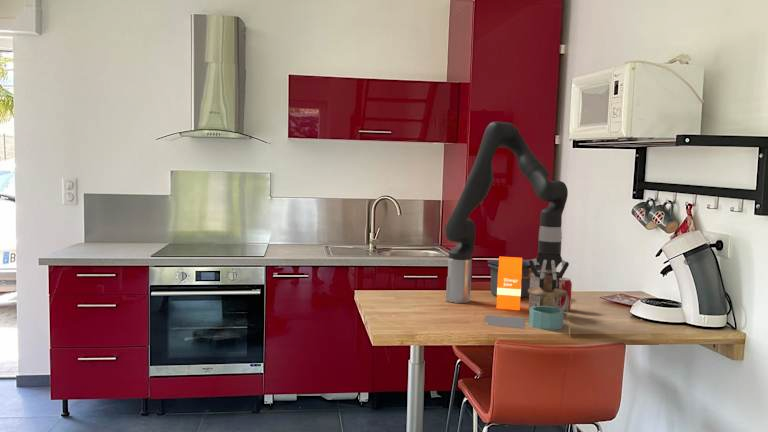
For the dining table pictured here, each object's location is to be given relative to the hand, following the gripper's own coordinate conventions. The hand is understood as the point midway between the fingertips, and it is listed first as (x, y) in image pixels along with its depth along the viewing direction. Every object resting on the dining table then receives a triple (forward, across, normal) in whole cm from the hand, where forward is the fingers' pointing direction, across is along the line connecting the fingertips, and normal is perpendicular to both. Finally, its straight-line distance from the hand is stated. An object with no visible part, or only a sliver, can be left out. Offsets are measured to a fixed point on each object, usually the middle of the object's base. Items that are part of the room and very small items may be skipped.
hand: (547, 289), depth 218 cm
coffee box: (+13, -1, +19) cm, 23 cm away
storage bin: (+13, -13, +47) cm, 51 cm away
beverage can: (+13, +6, +29) cm, 32 cm away
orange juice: (+13, -14, +23) cm, 30 cm away
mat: (+13, -14, 0) cm, 19 cm away
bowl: (+13, 0, 0) cm, 13 cm away
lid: (+1, 0, 0) cm, 1 cm away
